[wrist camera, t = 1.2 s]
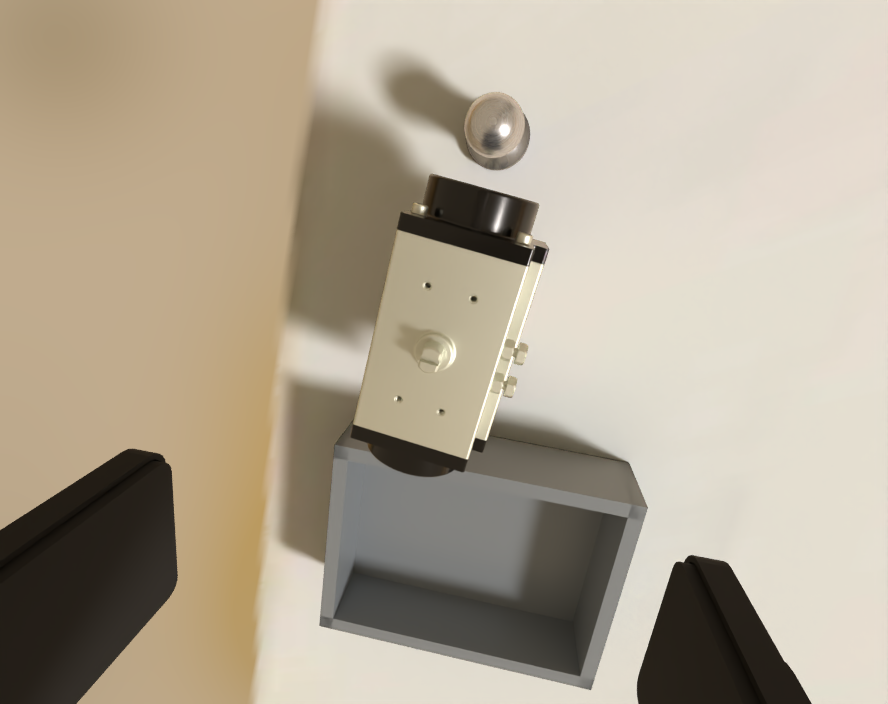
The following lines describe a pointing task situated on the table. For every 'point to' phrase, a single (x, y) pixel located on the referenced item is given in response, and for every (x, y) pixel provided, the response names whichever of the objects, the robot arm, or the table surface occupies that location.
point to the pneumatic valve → (448, 327)
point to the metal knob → (496, 131)
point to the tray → (483, 555)
